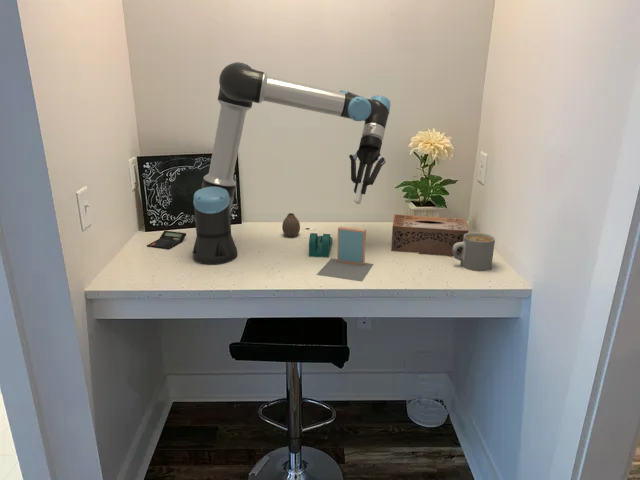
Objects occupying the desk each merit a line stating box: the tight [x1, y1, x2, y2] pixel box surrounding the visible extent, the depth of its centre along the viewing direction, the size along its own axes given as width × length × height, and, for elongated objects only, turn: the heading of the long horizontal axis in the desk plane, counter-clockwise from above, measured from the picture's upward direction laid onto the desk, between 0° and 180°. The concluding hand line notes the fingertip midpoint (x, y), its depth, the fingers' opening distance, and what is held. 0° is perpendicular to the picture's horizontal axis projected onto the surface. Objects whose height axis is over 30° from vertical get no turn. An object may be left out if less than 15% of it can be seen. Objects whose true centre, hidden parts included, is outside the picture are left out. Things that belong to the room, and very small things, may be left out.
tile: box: [336, 226, 367, 265], centre depth 167 cm, size 9×2×12 cm, turn 71°
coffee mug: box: [452, 231, 496, 272], centre depth 167 cm, size 13×10×10 cm
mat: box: [316, 257, 375, 282], centre depth 164 cm, size 15×15×1 cm
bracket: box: [308, 232, 333, 258], centre depth 181 cm, size 18×7×8 cm, turn 173°
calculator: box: [146, 230, 187, 251], centre depth 187 cm, size 9×12×3 cm
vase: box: [281, 212, 301, 238], centre depth 195 cm, size 7×7×9 cm
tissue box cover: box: [390, 214, 469, 257], centre depth 183 cm, size 26×14×10 cm, turn 79°
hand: (357, 202), depth 171 cm, fingers closed
